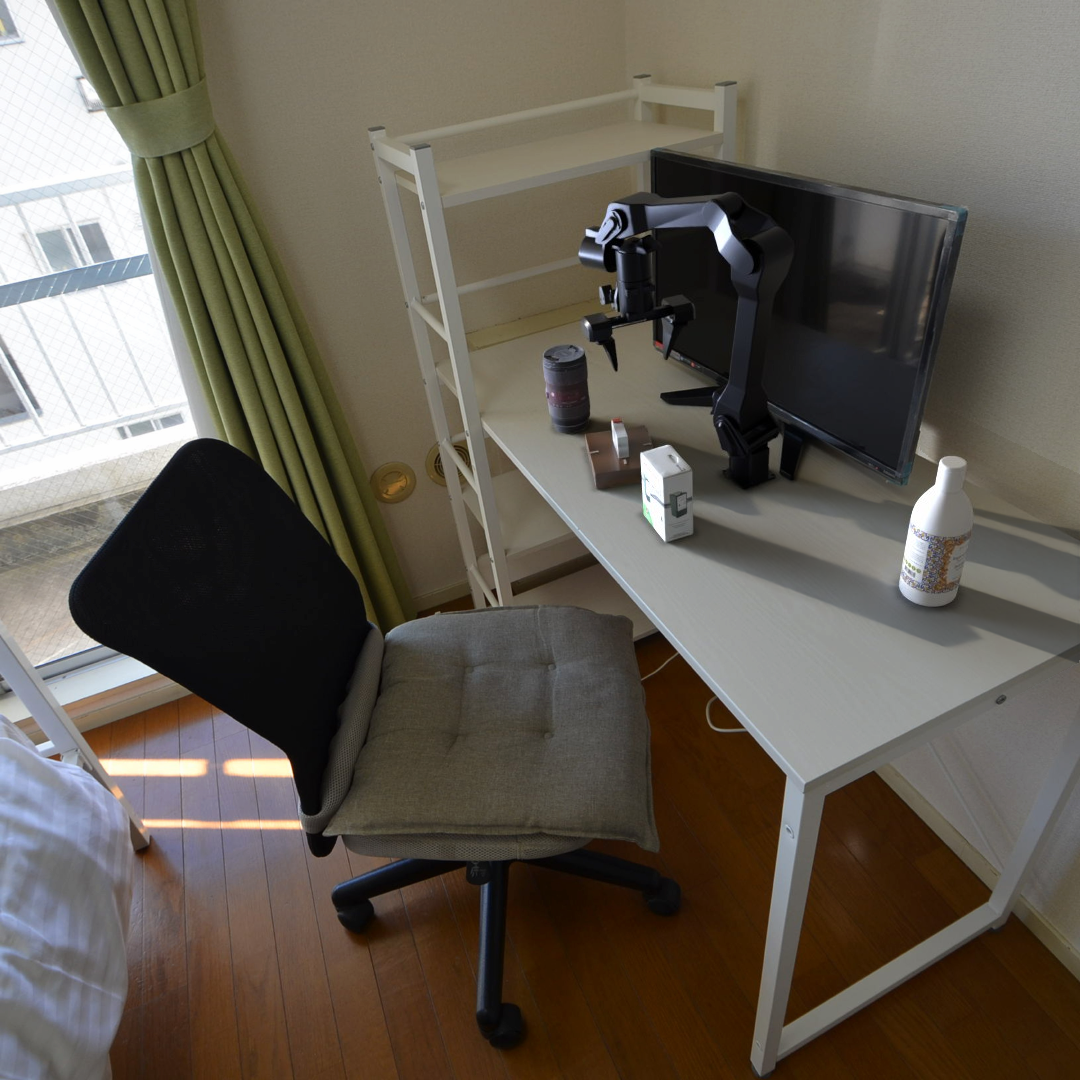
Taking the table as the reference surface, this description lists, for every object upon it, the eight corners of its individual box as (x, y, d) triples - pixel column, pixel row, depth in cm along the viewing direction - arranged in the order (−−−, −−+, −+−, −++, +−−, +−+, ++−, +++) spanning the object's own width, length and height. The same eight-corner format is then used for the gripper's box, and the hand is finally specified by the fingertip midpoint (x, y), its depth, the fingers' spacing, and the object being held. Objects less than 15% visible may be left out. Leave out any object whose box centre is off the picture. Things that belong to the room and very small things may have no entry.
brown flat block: (660, 479, 135) (660, 463, 134) (596, 489, 136) (594, 473, 134) (645, 439, 147) (644, 424, 145) (586, 448, 147) (584, 433, 145)
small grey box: (629, 457, 137) (627, 435, 134) (618, 458, 137) (617, 436, 134) (623, 438, 142) (621, 417, 140) (613, 440, 142) (611, 418, 140)
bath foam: (934, 616, 102) (963, 484, 90) (887, 590, 107) (908, 462, 95) (967, 591, 105) (999, 461, 93) (919, 567, 110) (944, 440, 98)
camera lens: (571, 439, 150) (562, 365, 141) (542, 427, 155) (532, 355, 146) (601, 422, 154) (594, 349, 145) (572, 411, 159) (564, 339, 150)
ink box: (642, 514, 128) (638, 450, 121) (670, 506, 129) (668, 442, 122) (664, 543, 121) (662, 477, 114) (694, 534, 122) (693, 468, 115)
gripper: (670, 252, 139) (674, 337, 148) (567, 274, 137) (577, 360, 146) (695, 270, 130) (697, 359, 139) (585, 294, 128) (594, 383, 137)
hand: (640, 365), depth 141 cm, fingers open, 9 cm apart
